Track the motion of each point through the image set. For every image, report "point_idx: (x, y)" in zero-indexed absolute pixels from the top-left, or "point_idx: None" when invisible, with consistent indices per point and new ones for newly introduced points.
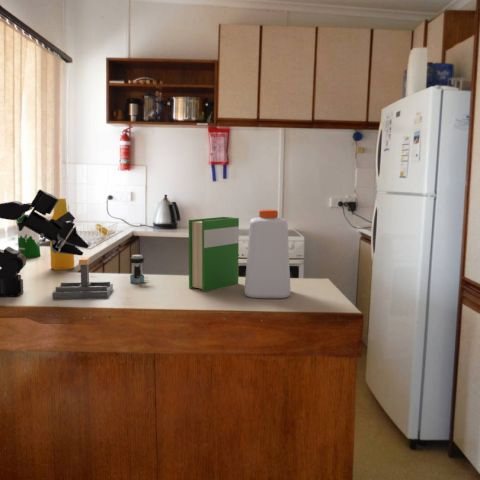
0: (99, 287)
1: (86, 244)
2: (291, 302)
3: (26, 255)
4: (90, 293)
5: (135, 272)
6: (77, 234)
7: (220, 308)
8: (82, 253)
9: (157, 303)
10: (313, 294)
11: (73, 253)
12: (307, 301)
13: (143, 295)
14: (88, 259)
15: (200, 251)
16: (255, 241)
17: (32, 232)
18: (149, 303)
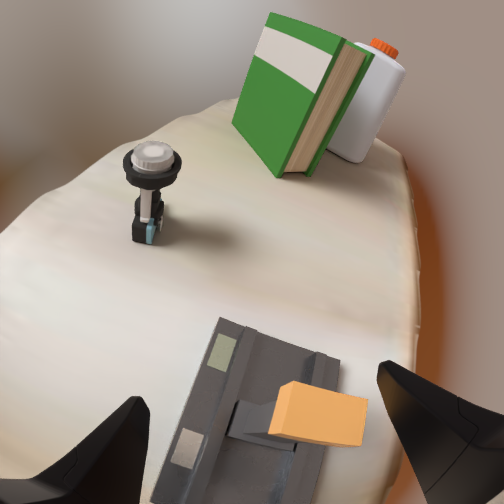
0: (321, 379)
1: (402, 374)
2: (374, 155)
3: None
4: None
5: (156, 208)
6: (502, 418)
7: (405, 215)
8: (142, 403)
9: (385, 273)
10: None
11: (142, 474)
12: None
13: (319, 273)
14: (328, 392)
15: (332, 106)
16: (395, 95)
17: None
18: (385, 286)
